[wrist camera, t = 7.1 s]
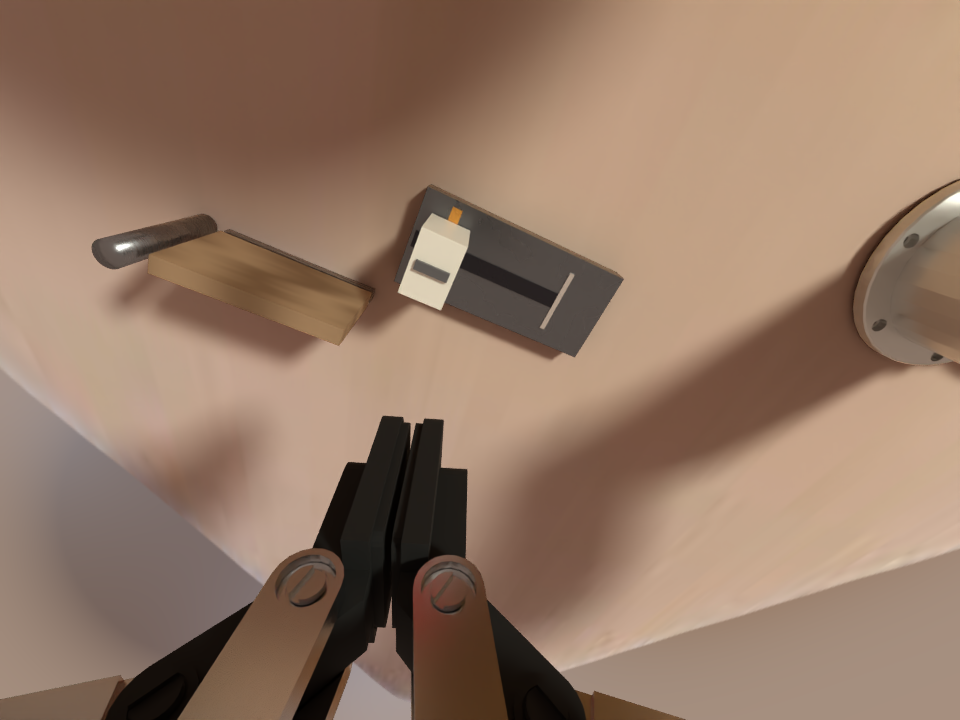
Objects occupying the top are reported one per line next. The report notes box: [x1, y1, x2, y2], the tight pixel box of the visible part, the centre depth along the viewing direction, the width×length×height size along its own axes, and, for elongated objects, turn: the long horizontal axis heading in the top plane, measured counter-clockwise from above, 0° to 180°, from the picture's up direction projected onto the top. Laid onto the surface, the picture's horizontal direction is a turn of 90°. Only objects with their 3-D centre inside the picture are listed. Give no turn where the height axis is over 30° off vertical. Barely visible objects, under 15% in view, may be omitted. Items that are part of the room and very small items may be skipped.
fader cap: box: [398, 213, 470, 310], centre depth 22 cm, size 2×4×5 cm, turn 156°
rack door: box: [148, 231, 372, 346], centre depth 23 cm, size 10×1×6 cm, turn 66°
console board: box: [394, 184, 624, 357], centre depth 26 cm, size 13×6×2 cm, turn 66°
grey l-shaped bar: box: [92, 214, 375, 303], centre depth 23 cm, size 12×1×8 cm, turn 66°
